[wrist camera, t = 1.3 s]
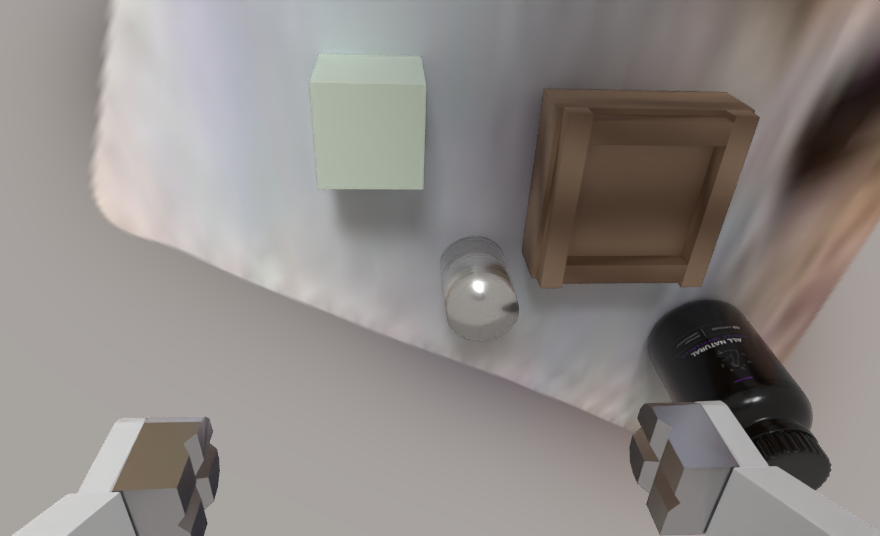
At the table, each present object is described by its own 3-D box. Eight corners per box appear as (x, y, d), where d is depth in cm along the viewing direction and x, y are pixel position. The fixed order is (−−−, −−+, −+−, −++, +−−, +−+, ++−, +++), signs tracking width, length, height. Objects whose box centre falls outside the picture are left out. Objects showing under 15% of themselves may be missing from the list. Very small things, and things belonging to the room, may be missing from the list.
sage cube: (320, 53, 29) (309, 82, 25) (420, 55, 30) (426, 84, 26) (326, 148, 32) (317, 189, 28) (418, 149, 33) (423, 189, 28)
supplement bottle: (694, 279, 39) (800, 419, 29) (762, 319, 41) (881, 461, 31) (624, 349, 42) (698, 497, 32) (691, 383, 44) (779, 530, 34)
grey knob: (441, 236, 36) (448, 283, 31) (507, 236, 36) (522, 283, 32) (439, 290, 38) (445, 341, 34) (500, 290, 38) (514, 340, 34)
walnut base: (544, 88, 31) (562, 114, 28) (726, 92, 32) (765, 117, 29) (521, 250, 37) (535, 288, 33) (677, 250, 37) (706, 286, 34)
